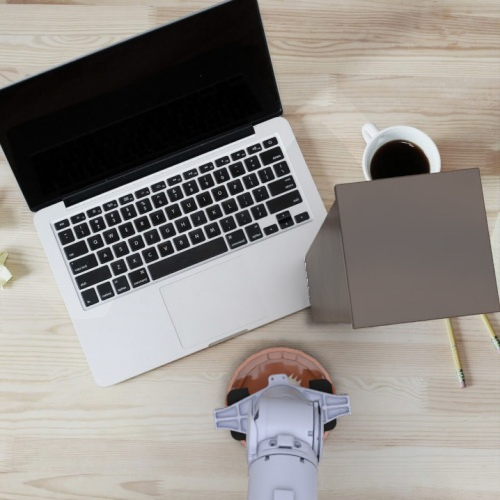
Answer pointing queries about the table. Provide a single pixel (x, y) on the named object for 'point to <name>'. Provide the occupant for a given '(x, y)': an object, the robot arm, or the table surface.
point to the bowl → (277, 370)
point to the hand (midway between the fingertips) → (280, 402)
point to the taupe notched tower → (403, 252)
